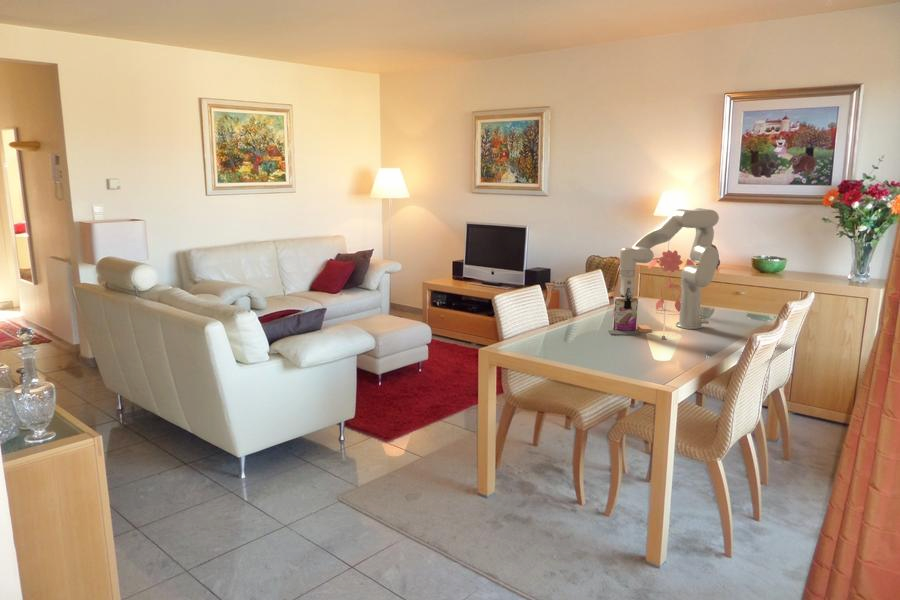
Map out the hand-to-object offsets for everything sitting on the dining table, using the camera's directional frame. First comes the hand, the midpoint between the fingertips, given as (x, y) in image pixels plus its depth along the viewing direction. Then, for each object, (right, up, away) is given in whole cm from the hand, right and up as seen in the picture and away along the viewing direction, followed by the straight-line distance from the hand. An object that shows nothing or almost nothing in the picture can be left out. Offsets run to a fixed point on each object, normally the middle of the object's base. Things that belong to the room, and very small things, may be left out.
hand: (625, 306), depth 329 cm
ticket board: (+10, -12, +2) cm, 15 cm away
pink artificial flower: (+35, -3, +44) cm, 56 cm away
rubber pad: (-2, -13, -5) cm, 14 cm away
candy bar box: (0, -12, +2) cm, 12 cm away
